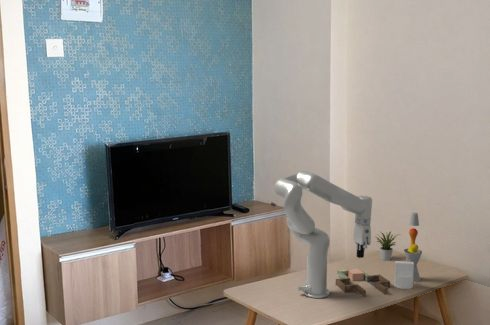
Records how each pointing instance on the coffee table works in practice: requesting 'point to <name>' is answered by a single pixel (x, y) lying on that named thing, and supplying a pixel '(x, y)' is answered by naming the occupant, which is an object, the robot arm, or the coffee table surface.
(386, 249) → the house plant
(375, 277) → the box
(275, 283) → the coffee table surface
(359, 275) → the terracotta block
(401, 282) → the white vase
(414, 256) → the lava lamp
